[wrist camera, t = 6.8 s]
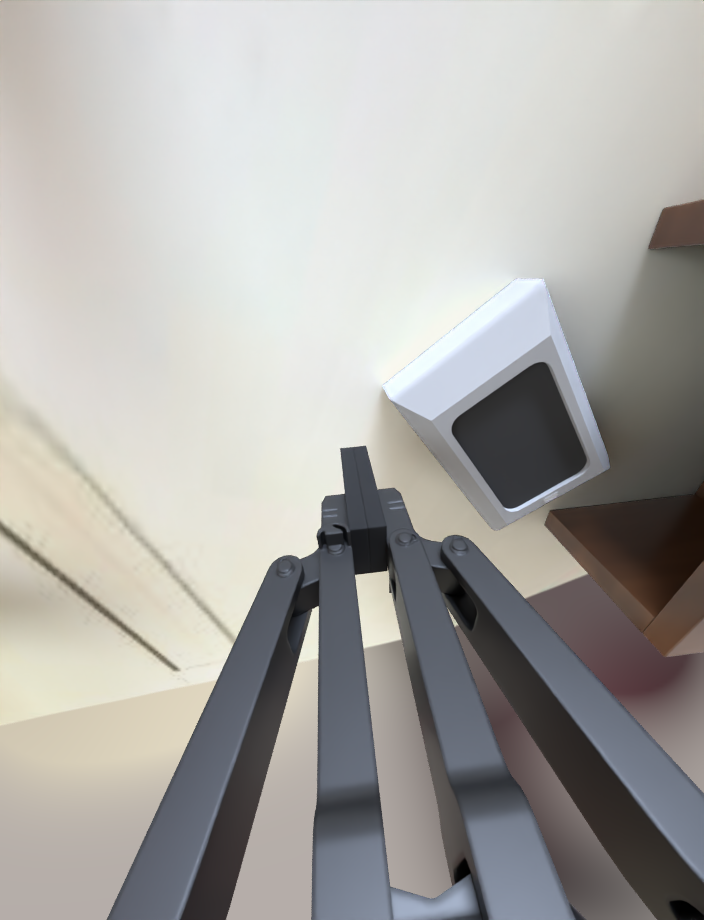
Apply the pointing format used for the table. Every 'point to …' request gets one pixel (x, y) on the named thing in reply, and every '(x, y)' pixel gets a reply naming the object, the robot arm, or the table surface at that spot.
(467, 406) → the grey box with recess
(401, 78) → the table surface
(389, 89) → the table surface
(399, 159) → the table surface
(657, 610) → the desk riser
